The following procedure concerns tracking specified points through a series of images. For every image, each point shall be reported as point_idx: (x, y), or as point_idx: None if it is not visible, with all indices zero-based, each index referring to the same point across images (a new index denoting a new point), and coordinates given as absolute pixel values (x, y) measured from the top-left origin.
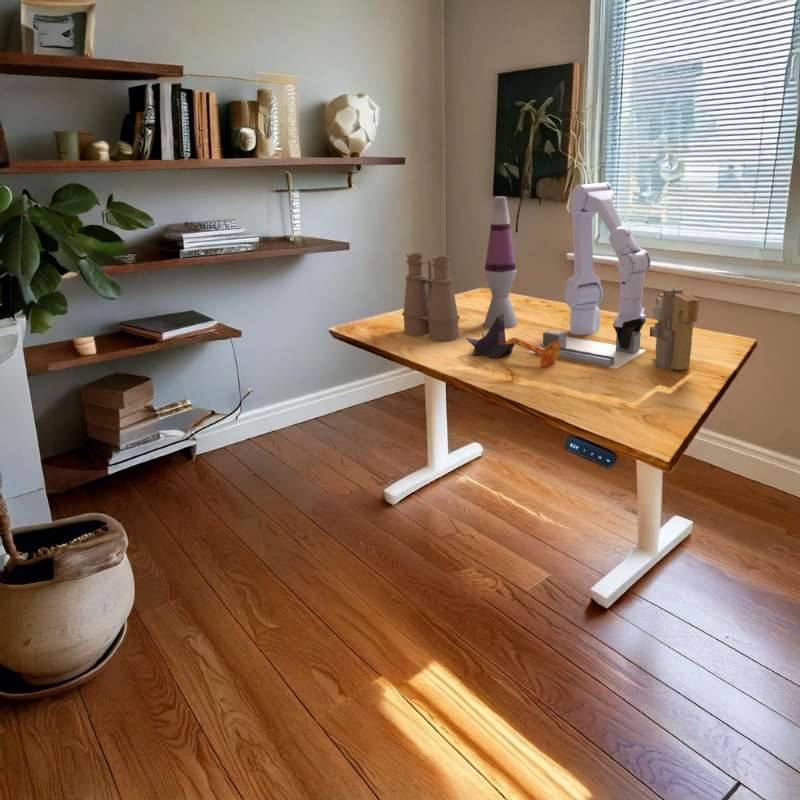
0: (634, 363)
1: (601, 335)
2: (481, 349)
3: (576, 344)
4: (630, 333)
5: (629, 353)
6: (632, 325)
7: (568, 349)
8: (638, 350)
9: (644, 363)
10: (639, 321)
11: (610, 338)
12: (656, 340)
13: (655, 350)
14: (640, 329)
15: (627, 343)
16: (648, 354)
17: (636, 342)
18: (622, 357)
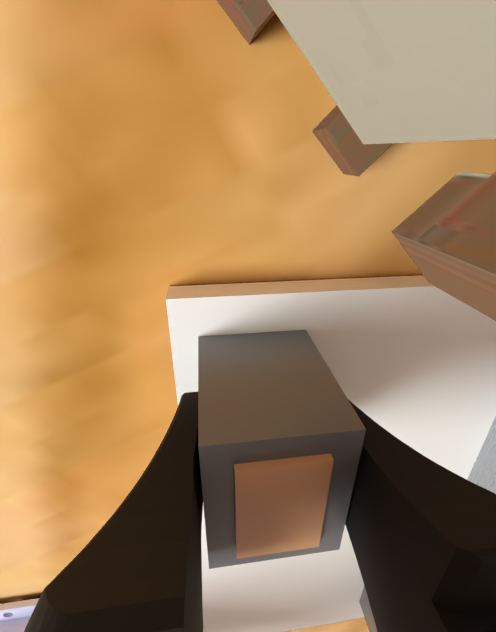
0: (388, 261)
1: (22, 587)
2: None
3: (284, 572)
4: (440, 474)
5: None
6: (486, 581)
7: None
8: (215, 336)
9: (364, 205)
10: (191, 630)
11: (31, 548)
12: (457, 134)
13: (372, 142)
14: (142, 491)
15: (356, 411)
16: (156, 272)
17: (278, 379)
18: (402, 346)
